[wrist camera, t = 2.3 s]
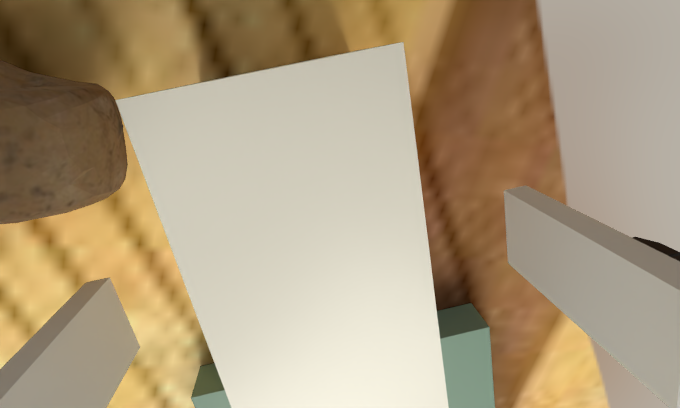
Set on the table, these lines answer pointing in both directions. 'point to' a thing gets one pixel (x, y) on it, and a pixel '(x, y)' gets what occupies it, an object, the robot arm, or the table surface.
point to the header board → (457, 352)
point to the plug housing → (300, 229)
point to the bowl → (56, 145)
